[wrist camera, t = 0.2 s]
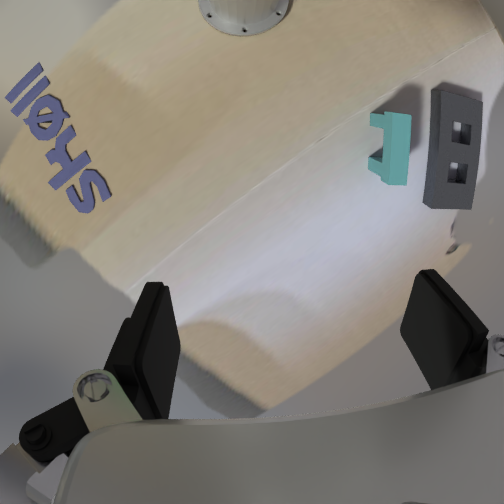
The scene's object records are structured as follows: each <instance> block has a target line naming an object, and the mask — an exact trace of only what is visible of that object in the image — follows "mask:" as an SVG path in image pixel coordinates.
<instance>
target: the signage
mask: <svg viewBox="0 0 504 504" xmlns="http://www.w3.org/2000/svg"><path fill="white" fill-rule="evenodd" d="M43 71H44V69H43V68H42V66H41V64H40V63H37V65H35V66H34V67H33V69H31V70H30V71H29V72H28V73H27V74H26V75H25V77H23V78H22V79H21V80H20V81H19V82H18V84H17V85H16V86H15V87H14V88H13V89H12V90H11V91H10V92H9V93H8V94H7V96H6V97H5V98H6V99H7V100H8V101H9V102H10V103H12V102H13V101H14V100H15V99H16V98H17V97H18V95H19V94H20V93H21V92H22V91H23V90H24V89H25V88H26V87H27V86H28V85H29V84H30V83H31V82H32V81H33V80H34V79H35V78H37V77H38V75H40V73H42V72H43ZM49 84H50V83H49V81H48V79H47V77H46V76H44V77H43V78H42V79H41V80H40V81H39V82H38V83H37V84H36V85H35V86H34V87H33V88H32V89H31V90H30V91H29V92H28V93H27V94H26V95H25V96H24V97H23V98H22V99H21V100H20V101H19V102H18V103H17V104H16V105H15V106H14V107H13V108H12V110H11V112H12V113H13V114H15V115H16V116H17V117H18V116H19V115H20V114H21V112H23V111H24V109H25V108H26V107H27V106H28V105H29V104H30V103H31V102H32V101H33V100H34V99H35V98H36V97H38V95H39V94H40V93H41V92H42V91H43V90H44V89H45V88H46V87H47V86H48V85H49ZM45 107H48V108H49V109H50V110H51V111H52V112H53V113H52V114H47V115H42V116H38V114H39V111H40V110H41V109H43V108H45ZM64 118H70V117H69V115H68V113H67V112H63V109H62V106H61V103H60V101H59V100H58V99H56V98H54V97H52V96H51V95H46V96H44V97H41V98H39V99H37V100H36V102H35V103H34V104H33V106H32V107H31V110H30V114H29V117H28V118H27V119H23V120H24V122H25V123H26V125H28V124H29V127H30V131H31V133H32V134H33V135H34V136H35V137H36V138H37V139H38V140H50V139H51V138H53V137H55V136H57V134H58V132H59V130H60V129H61V127H62V124H63V119H64ZM38 123H52V124H51V125H50V126H49V127H48V128H47V129H46V130H45V129H43V128H41V127H39V124H38ZM75 136H76V133H75V131H74V130H73V128H72V126H71V125H70V126H69V127H68V128H67V129H66V130H65V131H64V132H62V133H61V134H60V135H59V136H58V137H57V138H56V145H55V150H50V151H49V152H48V153H47V154H46V155H45V156H46V157H47V159H48V161H49V163H50V164H51V165H52V164H53V163H54V162H58V163H60V164H61V166H62V168H63V170H62V171H60V172H59V173H58V174H57V175H56V176H55V177H54V178H52V179H51V180H50V181H49V182H48V183H49V184H50V185H51V186H52V187H53V188H54V189H55V190H57V189H58V188H59V187H60V186H62V185H63V184H64V183H65V182H66V181H68V180H69V179H70V178H71V177H72V176H74V175H75V174H76V173H77V172H79V171H80V170H81V169H82V168H84V167H85V166H86V165H87V164H89V163H90V162H91V160H90V158H89V156H88V155H87V153H86V151H85V152H83V153H82V154H81V155H80V156H78V157H77V158H76V159H75V160H73V161H71V159H70V157H69V155H68V153H67V151H66V144H67V143H68V142H69V141H70V140H71V139H73V138H74V137H75ZM79 181H80V186H81V190H82V195H83V199H84V201H83V202H81V201H80V200H79V198H78V196H77V194H76V192H75V189H74V187H73V185H72V186H71V187H69V188H68V189H67V190H66V193H67V195H68V197H69V200H70V202H71V203H72V204H73V205H74V206H75V208H76V209H77V210H78V211H79V212H82V213H89V212H91V211H92V210H93V208H94V205H95V201H94V197H93V193H92V189H91V185H90V182H91V181H93V183H94V184H95V185H96V186H97V187H98V190H99V193H100V196H101V198H102V201H103V202H104V201H105V200H107V199H108V198H110V197H111V194H110V192H109V190H108V187H107V185H106V183H105V180H104V179H103V178H102V177H101V176H100V175H99V174H98V173H97V171H95V170H84V171H83V173H82V175H81V176H80V178H79Z"/></svg>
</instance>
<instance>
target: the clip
mask: <svg viewBox="0 0 504 504" xmlns="http://www.w3.org/2000/svg"><path fill="white" fill-rule="evenodd" d="M370 126H374V127H378V128H383V129H384V141H383V158H381V157H369V161H368V169H369V170H370V171H372V172H374V173H376V174H377V175H379V176H381V181H383V182H385V183H386V184H388V185H406V184H407V175H408V164H409V152H410V137H411V115H408V114H401V113H393V112H385V111H384V114H375V113H370Z"/></svg>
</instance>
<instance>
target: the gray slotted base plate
mask: <svg viewBox="0 0 504 504" xmlns="http://www.w3.org/2000/svg"><path fill="white" fill-rule="evenodd" d="M482 108H483V102H481V101H478V100H474V99H471V98H468V97H464V96H461V95H457V94H454V93H450V92H446V91H442V90H431V118H430V138H429V151H428V162H427V172H426V181H425V189H424V196H423V203H424V204H425V205H427V206H428V207H430V208H431V209H471V208H472V203H473V197H474V191H475V185H476V178H477V171H478V163H479V154H480V143H481V130H482ZM453 121H455V122H459V123H461V137H460V142H456V141H452V126H453ZM450 162H455V163H458V168H457V176H456V179H448V171H449V163H450Z"/></svg>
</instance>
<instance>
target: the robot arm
mask: <svg viewBox="0 0 504 504" xmlns="http://www.w3.org/2000/svg"><path fill="white" fill-rule="evenodd" d="M198 2H199V8H200V11H201V13H202V15H203V17H204V19H205V20H206V21H207V22H208V23H209V24H210V25H211V26H212V27H214V28H215V29H217V30H219V31H221V32H223V33H226V34H229V35H235V36H251V35H257V34H260V33H263V32H265V31H268V30H270V29H271V28H273V27H274V26H275V25H277V24H278V23H279V22H280V21H281V19H282V18H283V17H284V15H285V13H286V11H287V8H288V3H289V0H198ZM277 14H280V16H278V15H277ZM208 16H212V17H211V18H209V17H208ZM243 30H246V31H247V32H243ZM488 332H489V330H488V329H487V328H486V326H485V325H484V324H483V323H482V322H481V320H480V319H479V318H478V317H477V316H476V315H475V313H474V312H473V311H472V310H471V309H470V308H469V306H468V305H467V304H466V303H465V302H464V301H463V300H462V299H461V297H460V296H459V295H458V294H457V293H456V292H455V291H454V290H453V289H452V288H451V286H450V285H449V284H448V283H447V282H446V281H445V280H444V279H443V278H442V277H441V276H440V275H439V274H438V273H437V272H436V270H434V269H428V270H421V271H420V272H419V274H417V275H416V277H415V280H414V284H413V287H412V291H411V294H410V298H409V301H408V305H407V308H406V311H405V314H404V317H403V321H402V324H401V327H400V333H401V336H402V338H403V339H404V341H405V343H406V344H407V346H408V348H409V350H410V351H411V353H412V355H413V357H414V359H415V360H416V362H417V364H418V366H419V368H420V370H421V371H422V373H423V375H424V377H425V379H426V381H427V382H428V384H429V386H430V388H431V390H430V391H427V392H423V393H419V394H415V395H411V396H407V397H402V398H398V399H394V400H389V401H384V402H380V403H375V404H369V405H364V406H359V407H353V408H348V409H340V410H334V411H327V412H319V413H310V414H302V415H292V416H281V417H267V418H246V419H202V420H201V419H168V417H169V411H170V405H171V398H172V393H173V387H174V382H175V376H176V371H177V365H178V360H179V355H180V339H179V335H178V330H177V326H176V321H175V316H174V311H173V306H172V301H171V296H170V291H169V287H168V286H164V284H163V282H147V283H146V284H145V286H144V288H143V291H142V293H141V295H140V297H139V300H138V302H137V304H136V306H135V309H134V311H133V314H132V316H131V318H126V319H125V320H124V322H123V324H122V326H121V328H120V330H119V333H118V335H117V338H116V340H115V342H114V345H113V347H112V349H111V352H110V354H109V356H108V359H107V361H106V364H105V367H104V369H103V370H101V369H96V370H91V371H88V372H86V373H84V374H82V375H81V376H80V377H79V378H78V379H77V380H76V382H75V383H74V386H73V396H74V397H72V398H70V399H68V400H67V401H65V402H63V403H61V404H59V405H57V406H55V407H53V408H51V409H50V410H48V411H46V412H44V413H42V414H40V415H38V416H36V417H34V418H32V419H31V420H29V421H27V422H26V423H25V424H24V425H23V427H22V429H21V431H20V434H19V441H20V442H19V443H18V444H17V445H15V444H14V443H12V444H11V445H10V446H9V447H8V448H7V449H6V450H5V451H4V452H3V453H2V454H1V455H0V504H51V501H52V498H53V497H54V496H55V494H56V496H55V499H54V503H53V504H504V336H503V335H499V334H498V335H493V336H491V337H490V338H489V340H488V339H487V338H486V336H487V334H488Z"/></svg>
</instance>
